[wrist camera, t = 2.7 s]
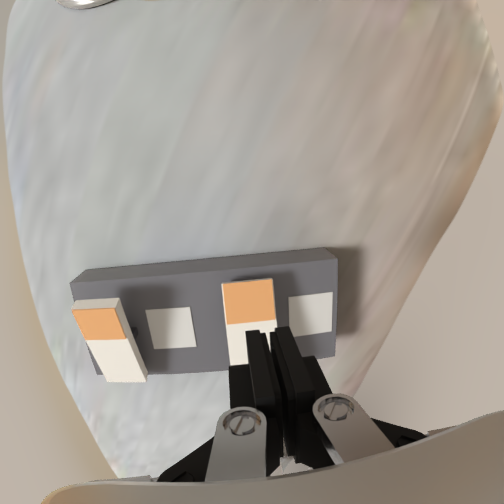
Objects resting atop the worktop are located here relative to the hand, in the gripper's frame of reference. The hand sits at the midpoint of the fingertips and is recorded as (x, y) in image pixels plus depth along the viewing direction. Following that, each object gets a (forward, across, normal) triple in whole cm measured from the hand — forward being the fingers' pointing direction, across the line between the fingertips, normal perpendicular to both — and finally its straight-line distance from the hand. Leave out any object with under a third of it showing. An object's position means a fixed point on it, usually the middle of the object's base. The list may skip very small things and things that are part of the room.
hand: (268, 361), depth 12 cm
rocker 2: (+13, 0, +6) cm, 14 cm away
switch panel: (+19, +4, +6) cm, 20 cm away
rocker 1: (+13, +12, +6) cm, 18 cm away
